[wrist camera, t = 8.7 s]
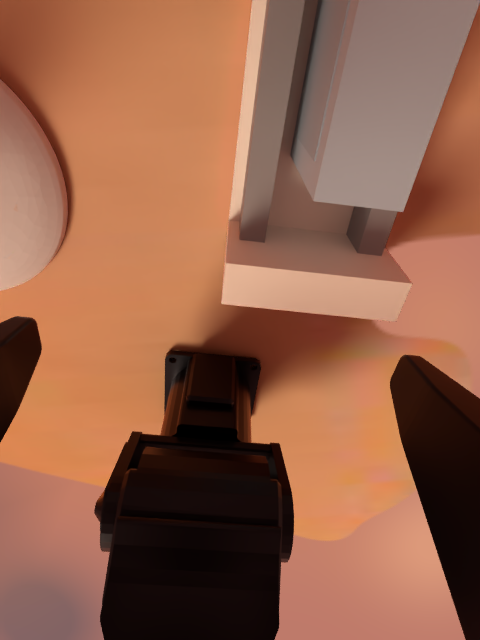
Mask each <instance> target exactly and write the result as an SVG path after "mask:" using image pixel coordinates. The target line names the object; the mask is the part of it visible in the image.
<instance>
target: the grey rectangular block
mask: <svg viewBox="0 0 480 640" xmlns="http://www.w3.org/2000/svg"><path fill="white" fill-rule="evenodd" d="M479 4H480V0H318V4H317V10H316V16H315V21H314V27H313V32H312V38H311V43H310V49H309V54H308V60H307V65H306V71H305V76H304V82H303V87H302V93H301V98H300V104H299V109H298V115H297V120H296V126H295V131H294V137H293V142H292V148H291V153H290V156H291V158H292V160H293V162H294V164H295V166H296V168H297V170H298V172H299V174H300V176H301V178H302V180H303V182H304V184H305V186H306V188H307V190H308V192H309V194H310V196H311V198H312V200H313V201H316V202H324V203H333V204H341V205H349V206H357V207H365V208H374V209H382V210H390V211H398V212H403V211H404V208H405V206H406V203H407V200H408V197H409V195H410V192H411V189H412V186H413V184H414V181H415V178H416V176H417V173H418V170H419V167H420V165H421V162H422V159H423V156H424V154H425V151H426V148H427V145H428V143H429V140H430V137H431V135H432V132H433V129H434V126H435V124H436V121H437V118H438V115H439V113H440V110H441V107H442V105H443V102H444V99H445V96H446V94H447V91H448V88H449V85H450V83H451V80H452V77H453V75H454V72H455V69H456V66H457V64H458V61H459V58H460V55H461V53H462V50H463V47H464V45H465V42H466V39H467V36H468V34H469V31H470V28H471V25H472V23H473V20H474V17H475V14H476V12H477V9H478V6H479Z"/></svg>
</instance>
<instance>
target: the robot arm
mask: <svg viewBox="0 0 480 640" xmlns="http://www.w3.org/2000/svg"><path fill="white" fill-rule="evenodd" d="M41 350H42V346H41V340H40V336H39V331H38V327H37V323H36V321H35V319H33V318H29V317H20V316H16V317H13V318H10V319H8V320H6V321H4V322H2V323H0V442H1V440H2V439H3V437H4V435H5V433H6V431H7V429H8V428H9V426H10V424H11V422H12V420H13V418H14V417H15V415H16V413H17V411H18V409H19V407H20V404H21V402H22V400H23V397H24V395H25V392H26V390H27V387H28V385H29V382H30V380H31V377H32V375H33V372H34V370H35V367H36V365H37V362H38V360H39V357H40V355H41ZM171 357H173V358H175V359H171ZM251 365H256V366H254V367H252V366H251ZM260 370H261V364H260V361H259V360H258V359H255V358H246V357H235V356H224V355H214V354H203V353H192V352H182V351H169V352H168V353H167V355H166V358H165V414H164V415H165V416H164V421H163V425H162V430H161V435H151V434H142V432H134V431H133V432H132V434H131V436H130V438H129V440H128V442H126V443H125V445H124V447H123V450H122V452H121V454H120V456H119V459H118V461H117V463H116V466H115V468H114V470H113V472H112V475H111V477H110V479H109V481H108V484H107V486H106V488H105V490H104V492H103V493H102V495H101V496H100V498H99V499H98V500H97V502H96V506H95V515H96V517H97V518H98V520H99V521H100V531H101V533H100V546H101V550H102V551H104V552H110V555H109V561H108V567H107V574H106V581H105V587H104V594H103V600H102V610H101V615H100V622H101V627H102V632H103V636H104V640H274V639H275V636H276V634H277V631H278V629H279V594H280V573H281V562H288V560H289V558H290V555H291V550H292V544H293V533H294V510H293V498H292V492H291V487H290V484H289V480H288V476H287V472H286V468H285V464H284V460H283V456H282V452H281V448H280V444H279V443H270V444H261V443H251V415H252V410H253V405H254V400H255V395H256V390H257V385H258V380H259V375H260ZM390 389H391V394H392V399H393V404H394V409H395V414H396V419H397V423H398V428H399V433H400V437H401V441H402V445H403V448H404V451H405V454H406V457H407V461H408V464H409V467H410V470H411V473H412V476H413V479H414V482H415V485H416V488H417V491H418V494H419V497H420V501H421V504H422V506H423V510H424V513H425V516H426V519H427V522H428V525H429V528H430V531H431V534H432V537H433V540H434V543H435V546H436V550H437V553H438V556H439V559H440V562H441V565H442V568H443V571H444V574H445V577H446V580H447V583H448V587H449V590H450V592H451V596H452V599H453V602H454V605H455V608H456V611H457V614H458V617H459V620H460V623H461V627H462V630H463V633H464V636H465V639H466V640H480V399H479V398H478V397H476V396H475V395H474V394H473V393H471V392H470V391H468V390H467V389H465V388H464V387H463V386H461V385H460V384H458V383H457V382H456V381H454V380H453V379H451V378H450V377H449V376H447V375H446V374H444V373H443V372H442V371H440V370H439V369H437V368H436V367H435V366H433V365H432V364H430V363H429V362H428V361H426V360H425V359H423V358H422V357H420V356H414V355H403V356H402V357H401V358H400V360H399V362H398V364H397V366H396V369H395V371H394V373H393V375H392V377H391V381H390Z"/></svg>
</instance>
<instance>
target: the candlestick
mask: <svg viewBox="0 0 480 640" xmlns="http://www.w3.org/2000/svg"><path fill="white" fill-rule="evenodd" d="M67 219H68V200H67V192H66V186H65V181H64V177H63V174H62V171H61V168H60V165H59V162H58V159H57V157H56V155H55V152H54V150H53V148H52V146H51V144H50V142H49V140H48V138H47V137H46V135H45V133H44V132H43V130H42V128H41V127H40V125H39V124H38V122H37V121H36V119H35V118H34V116H33V115H32V114H31V112H30V111H29V110H28V108H27V107H26V106H25V105H24V104H23V102H22V101H21V100H20V99H19V98H18V96H17V95H16V94H15V93H14V92H13V91H12V90H11V89H10V88H9V87H8V86H7V85H6V84H5V83H4V82H3V81H2V80H1V79H0V291H1V290H6V289H10V288H13V287H16V286H18V285H20V284H23V283H25V282H27V281H29V280H30V279H32V278H33V277H35V276H36V275H37V274H39V273H40V272H41V271H42V270H43V269H44V268H45V267H46V266H47V265H48V264H49V263H50V261H51V260H52V259H53V258H54V256H55V255H56V253H57V252H58V250H59V248H60V246H61V243H62V241H63V238H64V235H65V231H66V227H67Z"/></svg>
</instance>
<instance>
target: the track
mask: <svg viewBox="0 0 480 640" xmlns="http://www.w3.org/2000/svg"><path fill="white" fill-rule="evenodd" d="M317 4H318V0H252V7H251V16H250V25H249V35H248V44H247V53H246V63H245V72H244V82H243V91H242V100H241V110H240V119H239V128H238V138H237V147H236V156H235V166H234V175H233V184H232V194H231V203H230V212H229V222H228V231H227V241H226V251H225V263H224V276H223V289H222V301H221V304H226V305H236V306H246V307H255V308H265V309H275V310H285V311H294V312H304V313H314V314H324V315H333V316H343V317H353V318H362V319H372V320H382V321H392V322H396V321H397V319H398V317H399V314H400V312H401V310H402V307H403V305H404V303H405V300H406V298H407V296H408V293H409V291H410V289H411V286H412V282H411V281H410V280H409V278H408V277H407V276H406V274H405V273H404V272H403V270H402V269H401V268H400V266H399V265H398V264H397V262H396V261H395V260H394V258H393V257H392V256H391V254H390V253H389V252H388V250H387V249H386V248H385V245H386V243H387V240H388V237H389V234H390V232H391V229H392V226H393V223H394V220H395V218H396V215H397V212H398V211H390V210H382V209H374V208H365V207H357V206H349V205H341V204H333V203H324V202H316V201H313V200H312V198H311V196H310V194H309V192H308V190H307V188H306V186H305V184H304V182H303V180H302V178H301V176H300V174H299V172H298V170H297V168H296V166H295V164H294V162H293V160H292V158H291V156H290V153H291V148H292V142H293V137H294V131H295V126H296V120H297V115H298V109H299V104H300V98H301V93H302V87H303V82H304V76H305V71H306V65H307V60H308V54H309V49H310V43H311V38H312V32H313V27H314V21H315V16H316V10H317Z"/></svg>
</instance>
